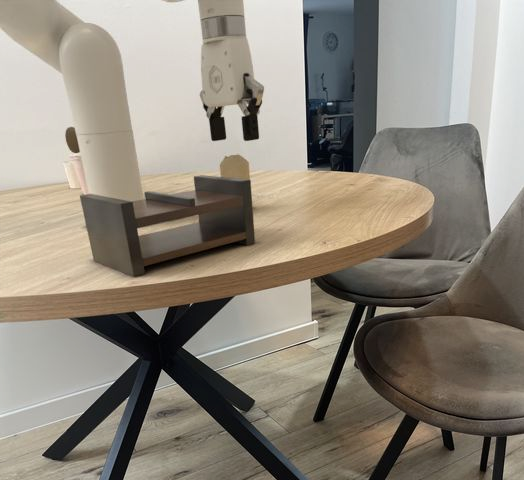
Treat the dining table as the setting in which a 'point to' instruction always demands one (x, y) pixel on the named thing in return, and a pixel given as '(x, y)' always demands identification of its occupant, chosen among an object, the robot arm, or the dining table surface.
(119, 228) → the rack
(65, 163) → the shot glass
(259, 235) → the dining table surface
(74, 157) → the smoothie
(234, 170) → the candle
